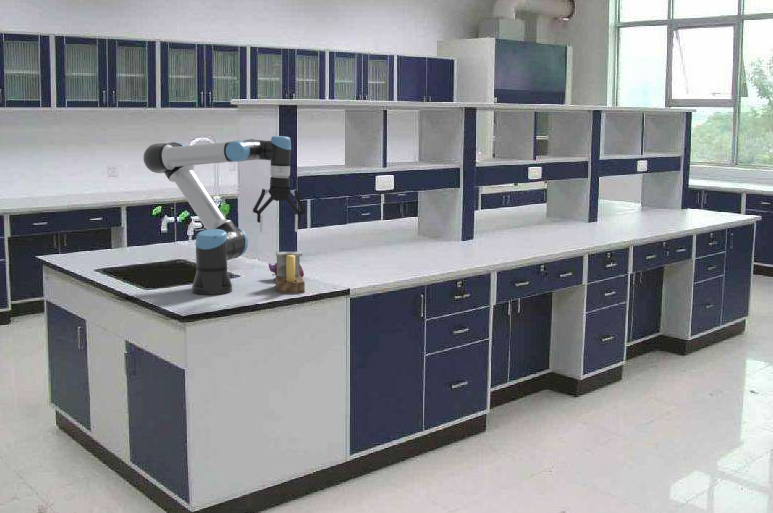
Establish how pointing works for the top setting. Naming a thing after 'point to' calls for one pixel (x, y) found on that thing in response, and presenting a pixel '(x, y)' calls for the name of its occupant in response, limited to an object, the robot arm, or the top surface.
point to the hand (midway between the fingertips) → (278, 231)
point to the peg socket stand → (281, 274)
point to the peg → (290, 268)
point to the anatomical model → (274, 269)
